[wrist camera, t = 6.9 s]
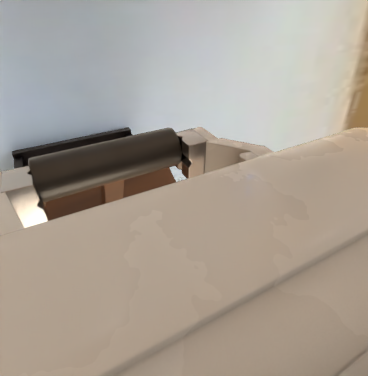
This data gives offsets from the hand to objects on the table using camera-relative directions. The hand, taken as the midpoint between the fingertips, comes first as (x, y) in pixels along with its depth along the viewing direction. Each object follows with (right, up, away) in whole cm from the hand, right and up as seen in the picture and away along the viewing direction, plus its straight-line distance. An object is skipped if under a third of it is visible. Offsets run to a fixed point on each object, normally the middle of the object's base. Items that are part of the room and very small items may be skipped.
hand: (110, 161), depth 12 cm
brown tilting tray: (-2, -1, +6) cm, 7 cm away
